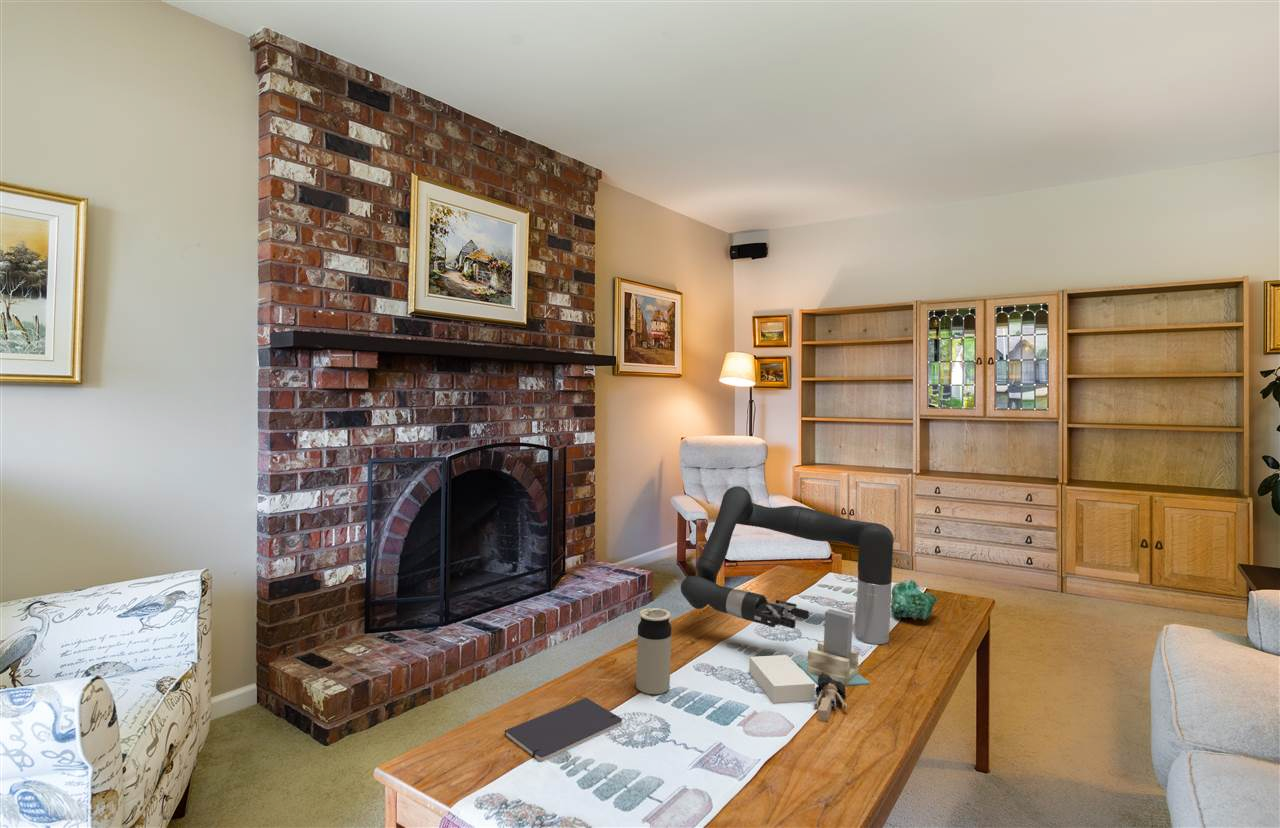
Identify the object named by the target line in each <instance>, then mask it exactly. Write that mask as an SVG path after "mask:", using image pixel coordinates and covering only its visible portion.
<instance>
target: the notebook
mask: <svg viewBox="0 0 1280 828" xmlns="http://www.w3.org/2000/svg"><path fill="white" fill-rule="evenodd" d="M622 722H623V719H622V718H621V717H620V716H618V715H616V714H614V713H613V712H611V711H610V710H608V709H606V708H605V707H603V706H602V705H599V704H597V703H596V702H594V701H592V700H591V699H589V698H588V697H584V698H582V699H579V700H577V701H574V702H572V703H569V704H567V705H564V706H561V707H559V708H557V709H554V710H552V711H550V712H547V713H545V714H542V715H539V716H537V717H534V718H532V719H529V720H527V721H523V722H522V723H519V724H517V725H514V726H512V727H510V728H507V729H505V730H504V736H506V737H508V738H509V739H511V740H512V741H513V742H514V743H515V744H517V745H518V746H520V747H521V748H523V750H525V751H526V752H528V754H530V755H531V756H532V758H534V759H537V760H538V761H540V762H544V761H547V760H549V759H551V758H553V757H555V756H558V755H560V754H562V753H564V752H566V751H569V750H571V749H573V748H575V747H577V746H579V745H583V743H586V742H589V741H590V740H592V739H594V738H597V737H599V736H600V735H603V734H605V733H607V732H610V731H612V730H614V729H616V728H617V727H620V726H621V725H622Z"/></svg>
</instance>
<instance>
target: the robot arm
mask: <svg viewBox="0 0 1280 828" xmlns="http://www.w3.org/2000/svg"><path fill="white" fill-rule="evenodd" d="M737 525H743V526H750V527H755V528H762V529H767V530H771V531H775V532H778V533H783V534H786V535H790V536H793V537H796V538H797V537H798V538H800V539H806V540H810V541H814V542H815V541H816V542H829V543H830V542H833V543H834V542H836V543H843V544H848V545H851V546H854V547H856V548H857V549H858V551H857V591H856V593H857V594H856V601H855V610H854V611H855V613H854V634H855V635H854V636H855V638H856V639H857V640H858V641H861V642H864V643H867V644H871V645H873V644H874V645H885V644H887V643H889V640H890V623H891V622H890V621H891V620H890V618H891V605H892V603H891V601H892V581H893V580H892V578H893V555H894V552H893V551H894V541H895V538H894V534H893V532H892V530H890V528H888V526H885V525H884V524H881V523H877V522H868V521H861V520H854V519H848V518H844V517H841V516H837V515H834V514H831V513H828V512H824V511H821V510H818V509H813V508H810V507H806V506H805V507H803V506H798V505H786V506H778V507H777V506H776V507H770V506H769V507H768V506H763V505H762V504H761V505H760V504H757V503H754V502H753V500H752V496H751V494H750V491H748V489H746V488H745V487H742V486H740V485H739V486H738V485H737V486H732V487H730V488H728V489H727V490H726V491H725V492H724V494H723V496H722V500H721V503H720V507H719V510H718V513H717V517H716V518H715V522H714V524H713V527H712V529H711V532H710V535H709V537H708V539H707V541H706V543H705V545H704V546H703V549H702V551H701V553H700V556H699V558H698V559H697V561H696V564H695V570H696V575H690V576H687V577H686V578H684V579H683V580H682V581H681V584H680V592H681V594H682V596H683V597H684V598H685V599H686V601H687V603H689V604H690V606H691V607H692V608H694V609H697V610H700V609H704V608H705V607H707V606H710V607H711V608H712V609H714V610H715V611H717V612H721V613H724V614H728V615H731V616H733V617H736V618H739V619H743V620H745V621H750V622H753V623H757V624H759V625H760V624H761V625H764V626H768V627H771V628H775V627H776V626H777V627H780V626H783V627H785V628H789V629H795V628H796V621H797V620H796V619H795V618H799V619H802V620H808V619H809V617H810V612H809V610H807V609H802V608H797V603H792V602H788V601H784V600H781V599H776V600H775V602H769V601H768V599H767V597H766V596H765V595H764V594H760V593H756V592H752V591H749V590H744V589H739V588H738V589H737V588H731V587H727V586H722V585H719V584H717V578H718V575H719V573H720V570H721V568H722V566H723V564H724V561H725V560H726V557H727V554H728V551H729V547H730V544H731V539H732V537H733V534H734V533H733V532H734V530H735V528H736V526H737ZM790 617H795V618H790Z"/></svg>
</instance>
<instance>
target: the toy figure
mask: <svg viewBox="0 0 1280 828" xmlns="http://www.w3.org/2000/svg"><path fill="white" fill-rule="evenodd" d="M844 685H845V684H842V683H841V682H840V681H839V682H838V681H836V680H833V679H832V678H830V677H829V675H826V674H823V673H822V674H821V675H819V677H818V684H817V686H815V694H814V695H816V698H817V699H816V700H815V702H814V703H813V706H814V709H816V708H817V717H818V721H822V722H828V721H829V720H828V718H829V717H830V715H831V711H832V707H833V708H834V709H835V710H836V709H837V708H841V709H844V708H845V710H847V708H848V704H847V703H846V702H845V700H844V699H846V697H847V696H846V686H844ZM819 704H820V705H819ZM837 704H839V705H838V707H837Z"/></svg>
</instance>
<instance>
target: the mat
mask: <svg viewBox="0 0 1280 828" xmlns="http://www.w3.org/2000/svg"><path fill="white" fill-rule="evenodd" d="M807 664H808V661H807V662H797V666H798V667H799V668H800V669H801V670H802V671H803V672H804V673H805V674H806V675H807V676H808V677H809V678H810V679H811V680H812V681H813V682H814V683H815V684H816V685H818V677H819V676H816V675H813V674H809V673H807ZM863 685H865V686H867V685H871V683H870V682H869V681H868V680H867V679H866V678H865V677H863V676H862V675H861V674H860V673H859V672H858V673H857V674H856V675H855V676H854V677H853V678H852V679H851V680H850V681H849V682H848V683H847V684H846V685H844V686H845V687H847V686H850V687H851V686H863Z"/></svg>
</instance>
